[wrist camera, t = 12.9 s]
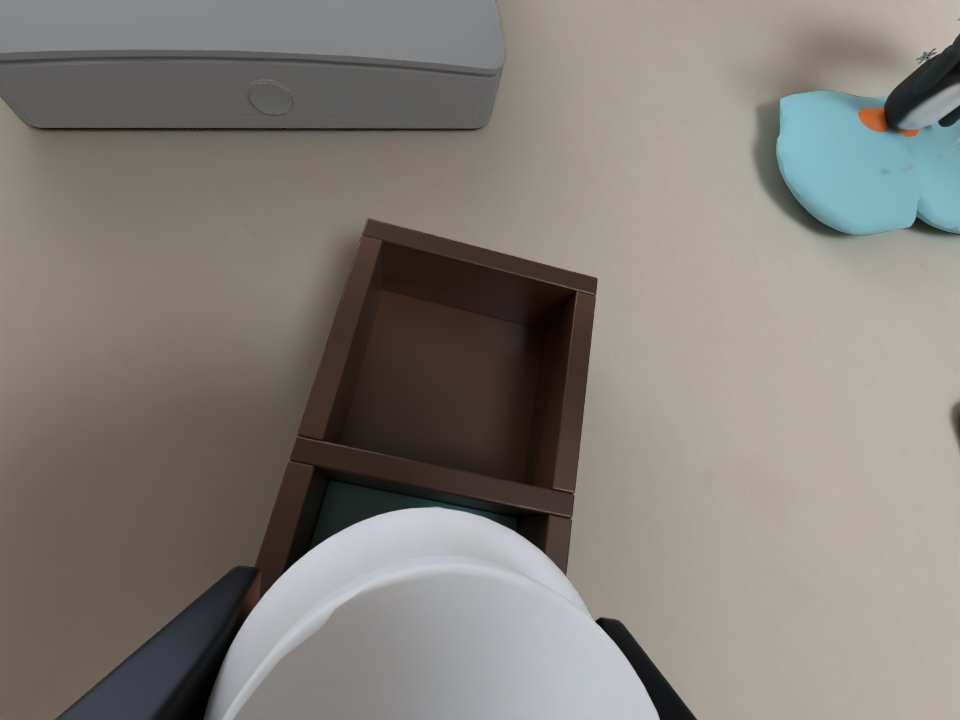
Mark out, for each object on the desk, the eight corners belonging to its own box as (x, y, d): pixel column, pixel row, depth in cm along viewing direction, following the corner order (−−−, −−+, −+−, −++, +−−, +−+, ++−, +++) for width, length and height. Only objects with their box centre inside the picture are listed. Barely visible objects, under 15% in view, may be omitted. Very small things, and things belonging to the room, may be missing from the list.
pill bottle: (304, 521, 15) (130, 487, 5) (499, 515, 16) (699, 477, 6) (284, 767, 13) (-107, 1663, 3) (509, 741, 14) (850, 1301, 4)
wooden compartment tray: (499, 767, 17) (538, 846, 13) (234, 728, 16) (179, 799, 12) (559, 324, 23) (598, 277, 19) (370, 276, 22) (366, 216, 18)
